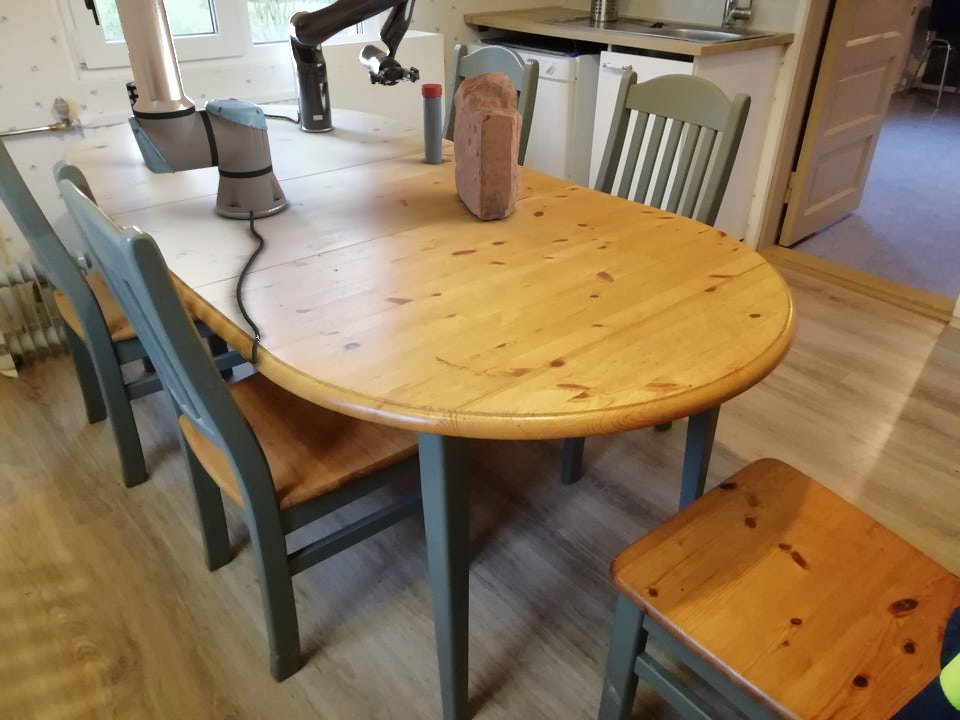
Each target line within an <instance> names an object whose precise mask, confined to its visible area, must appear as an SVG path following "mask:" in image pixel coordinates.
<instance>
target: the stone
mask: <svg viewBox="0 0 960 720" xmlns="http://www.w3.org/2000/svg"><path fill="white" fill-rule="evenodd" d="M515 87H516V86H515V84H514V81H512V80H510V77H509V76H508V75H507V74H506V72H502V71H495V72H493V71H492V72H487V73H483V74H479V75H476V76H472V77H466V78H465V79H463V80H462V81H461V83H460V85H459V86H458V88H457V90H456V92H455V94H454V97H453V99H454V100H453V101H454V106H455V118H454V128H453V129H454V131H453V153H454V162H455V166H454V185H455V190H456V193H457V195H458V196H459V197H460V199H461V201H462V202H463V203H464V204H465V205H466V207H467V208H468V209H469V211H470V212H471V213H472V214H473V215H474V216H475V215H476V216H477V218H478V219H479V220H481V221H492V220H496V219H505V218H507V217H508V216H509V215H510V214H512V213H513V212H514V211H515V209H516V203H517V201H518V196H519V192H518V190H519V182H520V174H519V173H520V172H519V167H518V164H519V161H518V160H519V153H520V140H521V133H522V128H523V115H522V114H520V112H519V111H518V109H517V107H518V96H517V91H516V88H515Z"/></svg>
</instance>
